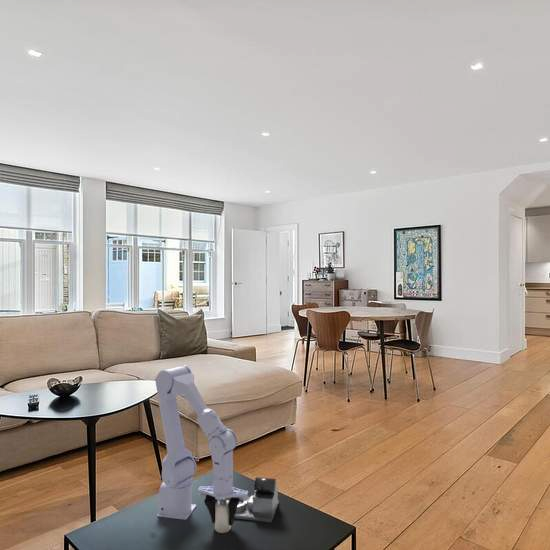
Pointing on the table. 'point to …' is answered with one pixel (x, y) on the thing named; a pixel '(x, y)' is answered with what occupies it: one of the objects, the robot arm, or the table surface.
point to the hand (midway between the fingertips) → (222, 522)
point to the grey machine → (259, 502)
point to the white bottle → (222, 516)
